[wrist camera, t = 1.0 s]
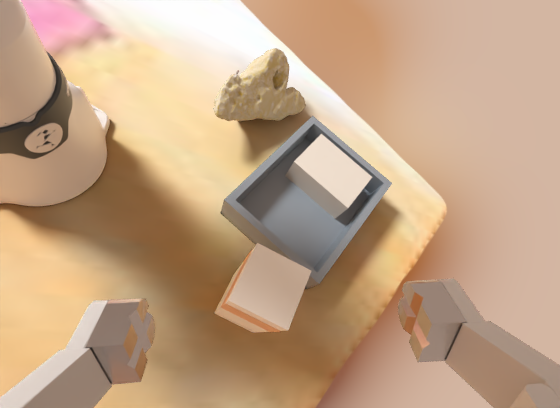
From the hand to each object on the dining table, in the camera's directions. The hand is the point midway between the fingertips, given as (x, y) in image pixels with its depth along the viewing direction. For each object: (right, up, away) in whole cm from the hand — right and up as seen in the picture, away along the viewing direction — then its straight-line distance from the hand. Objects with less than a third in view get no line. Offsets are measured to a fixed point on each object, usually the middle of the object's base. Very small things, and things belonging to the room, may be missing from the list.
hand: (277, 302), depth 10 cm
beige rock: (-4, +17, +43) cm, 47 cm away
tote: (+4, +3, +39) cm, 40 cm away
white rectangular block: (+7, +7, +41) cm, 42 cm away
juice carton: (-5, -10, +32) cm, 34 cm away
